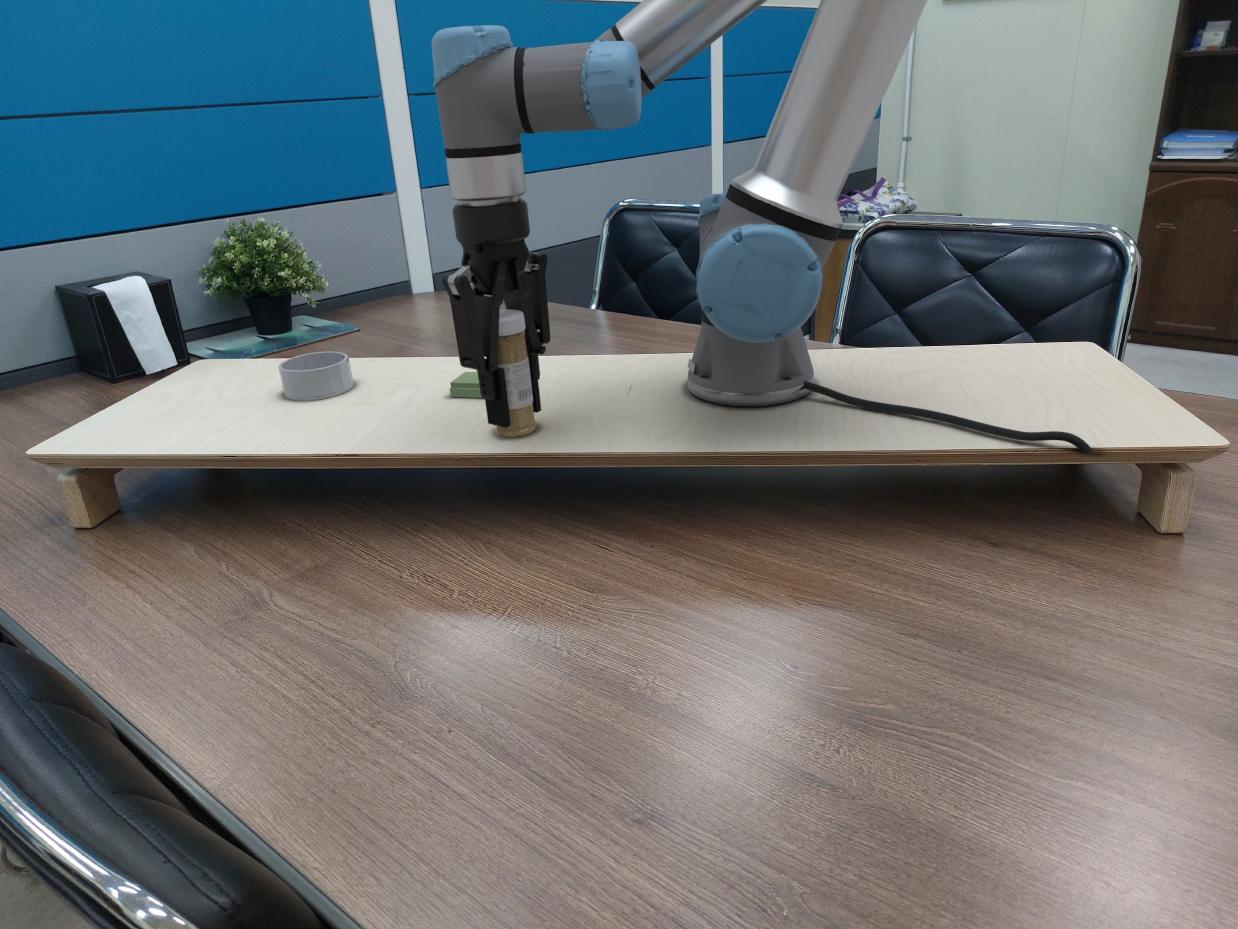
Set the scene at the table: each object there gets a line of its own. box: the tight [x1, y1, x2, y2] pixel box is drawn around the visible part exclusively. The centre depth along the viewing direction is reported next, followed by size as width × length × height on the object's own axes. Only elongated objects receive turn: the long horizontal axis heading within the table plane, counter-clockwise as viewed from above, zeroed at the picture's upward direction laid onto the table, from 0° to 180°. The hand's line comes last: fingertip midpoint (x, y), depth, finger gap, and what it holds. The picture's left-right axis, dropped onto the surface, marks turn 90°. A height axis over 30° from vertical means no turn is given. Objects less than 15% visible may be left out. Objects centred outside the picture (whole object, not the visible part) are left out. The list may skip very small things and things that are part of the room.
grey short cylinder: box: [277, 351, 354, 402], centre depth 111 cm, size 9×9×4 cm
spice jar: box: [496, 308, 537, 438], centre depth 91 cm, size 5×5×14 cm
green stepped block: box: [449, 371, 483, 399], centre depth 107 cm, size 8×5×2 cm, turn 75°
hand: (515, 416), depth 93 cm, fingers closed on spice jar, 4 cm apart
